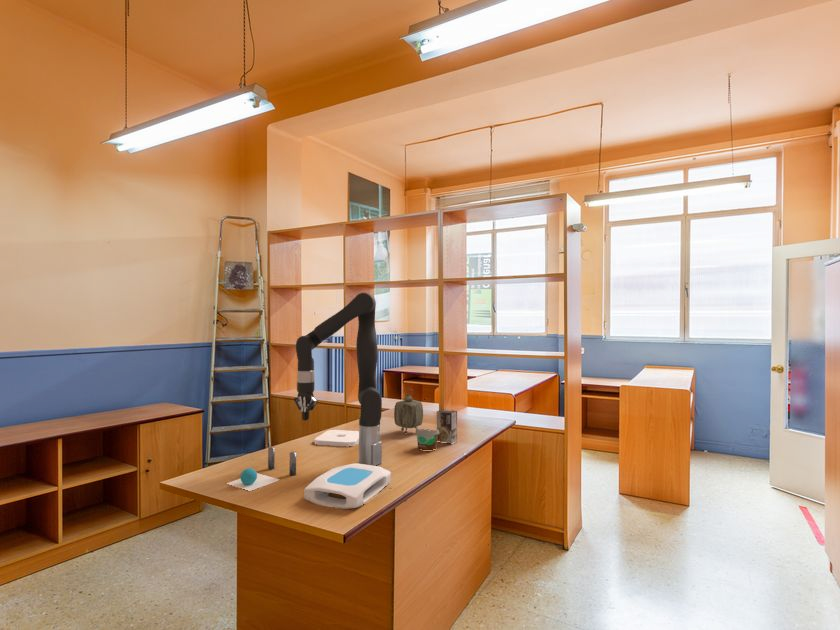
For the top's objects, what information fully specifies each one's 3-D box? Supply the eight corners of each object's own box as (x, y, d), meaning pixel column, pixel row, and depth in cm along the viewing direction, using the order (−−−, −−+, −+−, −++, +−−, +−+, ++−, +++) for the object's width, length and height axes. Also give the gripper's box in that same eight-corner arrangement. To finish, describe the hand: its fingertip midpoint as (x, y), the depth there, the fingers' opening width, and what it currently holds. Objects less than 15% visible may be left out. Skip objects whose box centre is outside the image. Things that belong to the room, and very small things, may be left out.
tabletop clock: (423, 433, 251) (423, 388, 251) (414, 436, 243) (414, 390, 243) (401, 429, 259) (401, 386, 259) (392, 432, 251) (392, 388, 251)
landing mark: (279, 480, 177) (279, 479, 177) (249, 491, 166) (249, 491, 166) (256, 473, 185) (256, 472, 185) (226, 483, 173) (226, 483, 173)
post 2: (297, 474, 184) (297, 452, 184) (292, 476, 182) (292, 453, 182) (292, 473, 185) (293, 451, 185) (288, 475, 183) (288, 452, 183)
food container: (411, 450, 218) (411, 429, 218) (416, 446, 224) (416, 426, 224) (435, 453, 214) (435, 432, 214) (439, 449, 219) (439, 429, 220)
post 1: (275, 468, 191) (275, 447, 191) (270, 470, 189) (270, 448, 189) (271, 467, 192) (271, 446, 192) (266, 469, 190) (266, 447, 190)
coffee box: (457, 442, 233) (457, 410, 233) (451, 444, 228) (451, 413, 228) (442, 439, 238) (442, 408, 238) (436, 442, 233) (436, 410, 233)
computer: (353, 448, 223) (353, 442, 223) (312, 445, 227) (312, 440, 227) (367, 436, 244) (367, 431, 244) (329, 434, 249) (329, 429, 249)
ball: (244, 483, 168) (255, 488, 172) (252, 467, 171) (262, 472, 175) (234, 480, 171) (244, 485, 175) (242, 464, 174) (252, 469, 178)
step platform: (302, 502, 157) (303, 484, 157) (344, 476, 183) (344, 461, 183) (355, 512, 149) (356, 493, 149) (391, 483, 175) (391, 467, 175)
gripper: (322, 380, 198) (322, 420, 198) (301, 378, 205) (301, 416, 205) (310, 383, 192) (309, 423, 191) (288, 380, 199) (288, 419, 199)
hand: (305, 420), depth 198 cm, fingers closed
